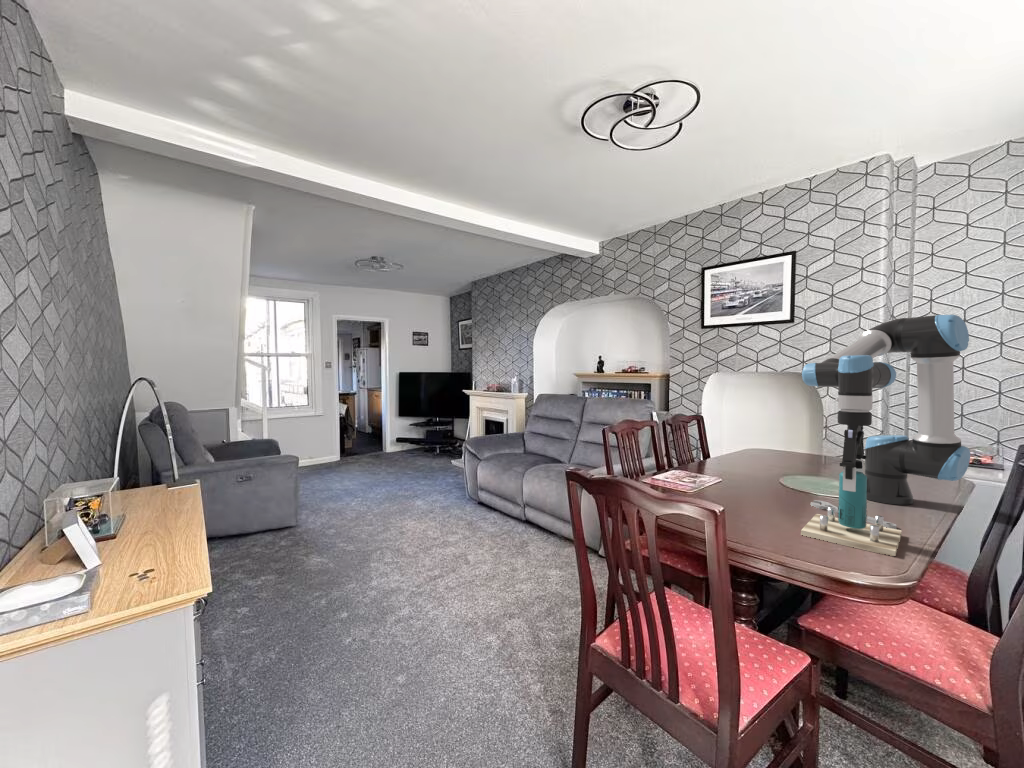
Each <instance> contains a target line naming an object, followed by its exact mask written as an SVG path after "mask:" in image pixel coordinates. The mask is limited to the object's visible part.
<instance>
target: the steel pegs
mask: <svg viewBox="0 0 1024 768" xmlns="http://www.w3.org/2000/svg"><path fill="white" fill-rule="evenodd" d="M835 517H836V512H835V508H834V507H828V510H827V515H825V514H820V530H821V531H828V521H831V522H835ZM874 518H875V524H871V525H870V541H872V542H876V543H878V542H879V531H880V532H883V521H885V520H884V519H885V518H884V516H883V515H879V514H877V515H875V516H874Z"/></svg>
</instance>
